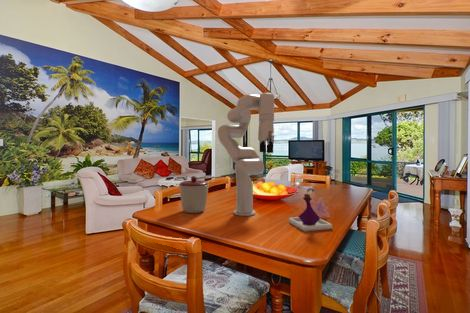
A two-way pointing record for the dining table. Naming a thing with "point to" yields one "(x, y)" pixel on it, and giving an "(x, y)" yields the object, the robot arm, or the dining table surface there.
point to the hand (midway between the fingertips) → (266, 152)
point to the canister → (193, 195)
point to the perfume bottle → (309, 211)
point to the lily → (320, 208)
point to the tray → (318, 226)
